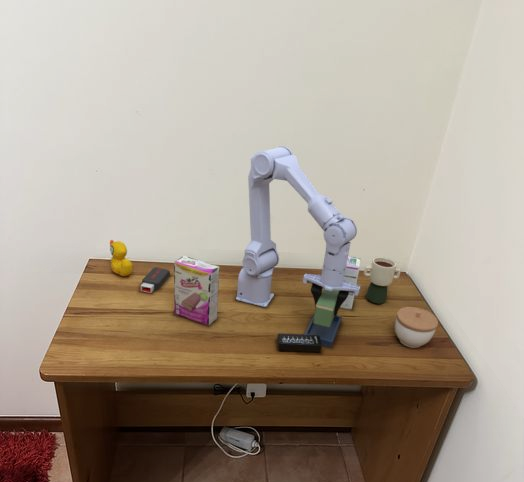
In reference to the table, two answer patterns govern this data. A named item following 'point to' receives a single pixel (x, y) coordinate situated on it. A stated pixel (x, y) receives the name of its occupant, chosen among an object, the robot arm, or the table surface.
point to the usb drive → (154, 279)
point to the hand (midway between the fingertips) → (326, 311)
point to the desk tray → (325, 330)
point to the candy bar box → (196, 290)
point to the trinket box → (415, 326)
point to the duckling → (120, 259)
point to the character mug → (380, 278)
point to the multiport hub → (299, 342)
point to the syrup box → (351, 279)
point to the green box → (326, 308)
